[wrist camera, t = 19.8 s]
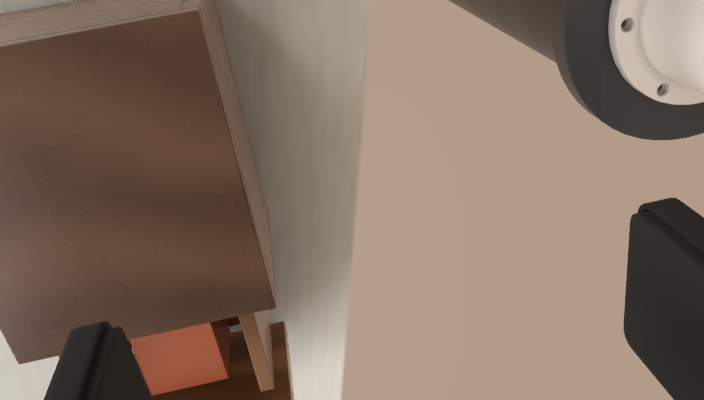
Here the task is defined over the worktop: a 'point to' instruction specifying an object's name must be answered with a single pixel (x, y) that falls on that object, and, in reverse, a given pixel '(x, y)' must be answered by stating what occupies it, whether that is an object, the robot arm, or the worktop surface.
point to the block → (184, 356)
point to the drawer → (248, 365)
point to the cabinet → (124, 174)
